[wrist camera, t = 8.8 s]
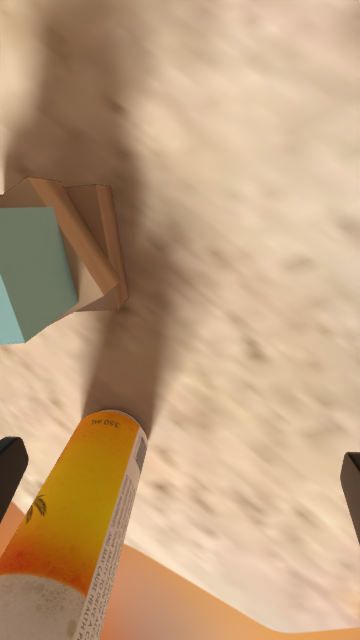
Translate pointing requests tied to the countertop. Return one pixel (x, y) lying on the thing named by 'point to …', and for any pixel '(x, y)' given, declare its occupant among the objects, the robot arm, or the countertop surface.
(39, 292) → the teal cube
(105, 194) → the slab lower
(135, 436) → the beer can
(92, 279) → the slab upper
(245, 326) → the countertop surface
